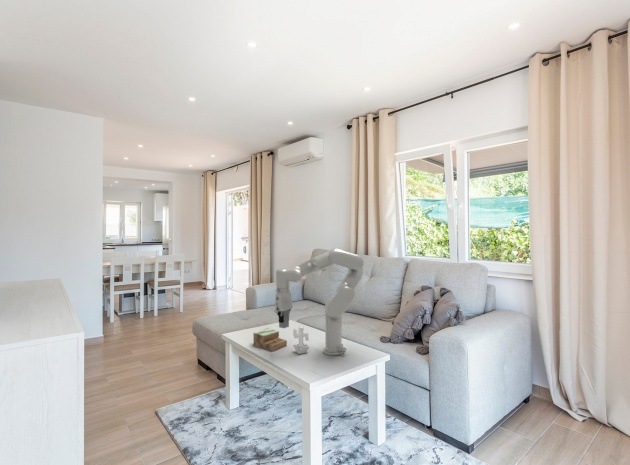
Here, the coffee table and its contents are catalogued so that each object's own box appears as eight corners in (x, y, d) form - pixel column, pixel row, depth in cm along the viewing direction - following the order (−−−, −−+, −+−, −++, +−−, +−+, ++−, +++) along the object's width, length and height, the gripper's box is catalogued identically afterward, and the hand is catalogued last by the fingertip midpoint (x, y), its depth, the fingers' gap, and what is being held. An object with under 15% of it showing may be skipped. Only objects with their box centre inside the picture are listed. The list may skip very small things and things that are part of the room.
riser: (286, 346, 206) (286, 333, 206) (272, 351, 196) (272, 338, 196) (267, 340, 216) (267, 328, 216) (253, 345, 207) (253, 332, 207)
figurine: (311, 352, 195) (311, 327, 195) (296, 355, 190) (296, 329, 190) (305, 348, 201) (305, 324, 201) (291, 351, 196) (291, 326, 196)
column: (289, 326, 195) (288, 306, 195) (284, 328, 192) (283, 307, 192) (284, 325, 198) (283, 305, 198) (278, 327, 195) (278, 306, 194)
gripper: (277, 293, 186) (278, 326, 186) (297, 288, 199) (298, 319, 199) (267, 292, 191) (268, 323, 191) (288, 287, 203) (289, 317, 204)
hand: (283, 321), depth 195 cm, fingers closed on column, 4 cm apart
